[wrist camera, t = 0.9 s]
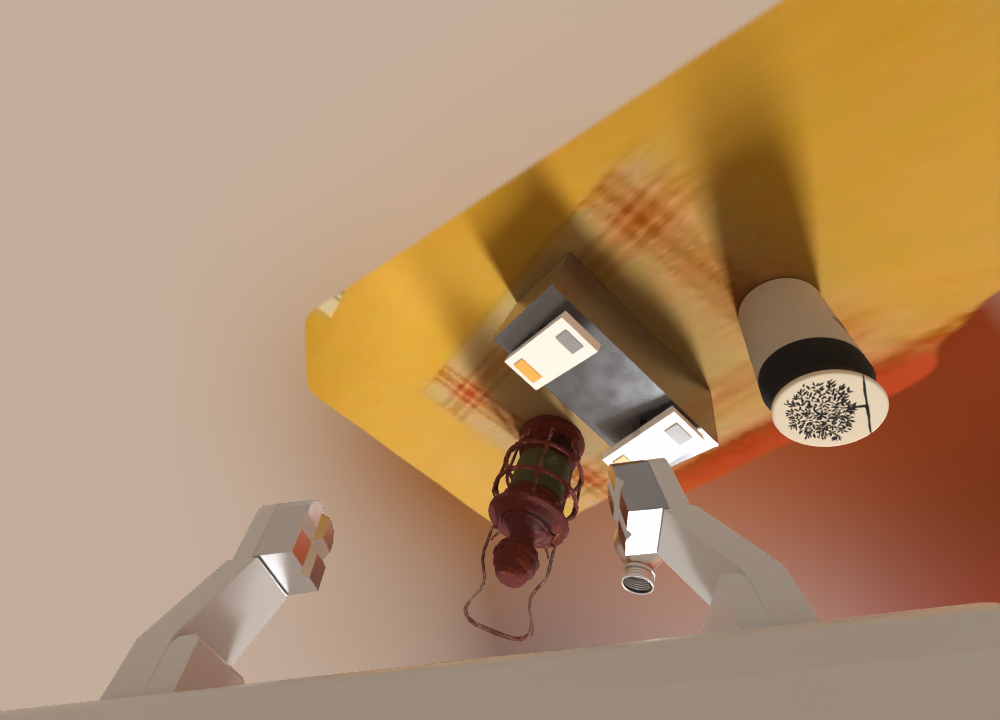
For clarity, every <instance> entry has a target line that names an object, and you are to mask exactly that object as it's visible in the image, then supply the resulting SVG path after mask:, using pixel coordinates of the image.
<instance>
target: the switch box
mask: <svg viewBox="0 0 1000 720" xmlns="http://www.w3.org/2000/svg"><path fill="white" fill-rule="evenodd" d="M564 311H566V312H567V313H569V314H570V315H571V316H572V317H573V318H574V319H575V320H576V321H577V322H578V323H579V324H580V325H581V326H582V327H583V328H584V329H585V330H586V331H587V332H588V333H589V334H590V335H591V336H593V337H594V338H595V339H596V340H597V341H598V342H599V343H600V344H601V346H600V348H599V350H598V352H597V353H595V354H594V355H592V356H590V357H589V358H587V359H586V360H584V361H582V362H581V363H579V364H578V365H576V366H574V367H573V368H571V369H570V370H568V371H566V372H565V373H563V374H562V375H560V376H558V377H557V378H555V379H554V380H552V381H550V382H549V383H547V384H546V385H544V386H545V387H546V388H547V389H548V390H549V391H551V392H552V393H553V394H554V395H555V396H556V397H557V398H558V399H559V400H560V401H562V402H563V403H564V404H565V405H566V406H567V407H568V408H569V409H570V410H571V411H573V412H574V413H575V414H576V415H577V416H578V417H579V418H580V419H581V420H582V421H584V422H585V423H586V424H587V425H588V426H589V427H590V428H591V429H592V430H593V431H595V432H596V433H597V434H598V435H599V436H600V437H601V438H602V439H603V440H604V441H606V442H607V443H608V444H609V445H610V446H611V447H612V446H614V445H615V444H617V443H618V442H620V441H621V440H622V439H624V438H625V437H627V436H628V435H630V434H631V433H633V432H634V431H636V430H637V429H639V428H640V427H642V426H643V425H644V424H646V423H647V422H649V421H650V420H652V419H653V418H655V417H656V416H658V415H659V414H661V413H662V412H664V411H665V410H666V409H668V408H669V407H671V406H673V407H674V408H675V409H676V410H677V411H679V412H680V413H681V414H682V415H683V416H684V417H685V418H686V419H687V420H688V421H689V422H690V423H691V424H692V425H693V426H694V427H695V428H696V429H697V430H698V431H699V432H700V433H701V434H702V435H703V437H704V439H705V442H704V443H702V444H700V445H699V446H697V447H695V448H694V449H692V450H690V451H689V452H687V453H686V454H684V455H682V456H681V457H679V458H677V459H676V460H674V461H672V462H671V463H669V465H670V467H671V466H673V465H676V464H678V463H680V462H682V461H684V460H687V459H689V458H691V457H693V456H696V455H698V454H700V453H702V452H704V451H707V450H709V449H711V448H713V447H715V446H718V438H717V431H716V424H715V418H714V411H713V404H712V398H711V392H710V391H709V390H708V389H707V388H706V387H705V386H704V385H703V384H702V383H701V382H700V381H699V380H698V379H697V378H696V377H695V376H694V375H693V374H692V373H691V372H690V371H689V370H688V369H687V368H686V367H685V366H684V365H683V364H682V363H681V362H680V361H679V360H678V359H677V358H676V357H675V356H674V355H673V354H672V353H671V352H670V351H669V350H668V349H667V348H666V347H665V346H664V345H663V344H662V343H661V342H660V341H659V340H658V339H657V338H656V337H655V336H654V335H653V334H652V333H651V332H650V331H649V330H648V329H647V328H646V327H645V326H644V325H643V324H642V323H641V322H640V321H639V320H638V319H637V318H636V317H635V316H634V315H633V314H632V313H631V312H630V311H629V310H628V309H626V308H625V307H624V306H623V305H622V304H621V303H620V302H619V301H618V300H617V299H616V298H615V297H614V296H613V295H612V294H611V293H610V292H609V291H608V290H607V289H606V288H605V287H604V286H603V285H602V284H601V283H600V282H599V281H598V280H597V279H596V278H595V277H594V276H593V275H592V274H591V273H590V272H589V271H588V270H587V269H586V268H585V267H584V266H583V265H582V264H581V263H580V262H579V261H578V260H577V259H576V258H575V257H574V256H573V255H572V254H571V253H570V252H568V253H567V254H566V255H565V256H564V257H563V258H562V259H561V260H560V261H559V262H558V263H557V264H556V265H555V266H554V267H553V268H552V269H551V270H550V271H549V272H548V273H547V274H546V275H545V276H544V277H543V278H542V279H541V280H539V281H538V282H537V283H536V284H535V285H534V286H533V287H532V288H531V289H530V290H529V291H528V292H527V293H526V294H525V295H524V296H523V297H522V298H521V299H520V300H519V301H518V302H517V303H516V304H515V306H514V308H513V309H512V311H511V312H510V314H509V315H508V317H507V318H506V320H505V321H504V323H503V325H502V326H501V328H500V329H499V331H498V332H497V334H496V335H495V337H494V339H493V340H494V341H495V342H497V343H498V344H499V345H500V346H501V347H502V348H503V349H504V350H505V351H506V352H508V353H509V354H511V353H512V352H513V351H515V350H516V349H517V348H518V347H520V346H521V345H522V344H524V343H525V342H526V341H527V340H529V339H530V338H531V337H532V336H534V335H535V334H536V333H538V332H539V331H540V330H541V329H543V328H544V327H545V326H547V325H548V324H549V323H550V322H552V321H553V320H554V319H555V318H557V317H558V316H559V315H561V314H562V313H563V312H564Z"/></svg>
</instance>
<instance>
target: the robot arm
mask: <svg viewBox="0 0 1000 720" xmlns="http://www.w3.org/2000/svg"><path fill="white" fill-rule="evenodd" d="M608 475H609V478H610V481H611V482H610V483H609V484H608V499H609V505H610V509H611V512H612V516H613V519H614V520H616V521H617V522H618V535H619V538H620V541H621V544H622V547H623V550H624V553H625V556H626V555H638V554H649V553H657V555H658V556H659V557H660V558H662V559H663V560H664V561H665V562H666V563H667V564H668V565H669V566H670V567H671V568H672V569H673V570H674V571H675V572H676V573H677V574H678V575H679V576H680V577H681V578H682V579H683V580H684V581H685V582H686V583H687V584H688V585H689V586H690V587H691V588H692V589H693V590H694V591H695V592H696V593H697V594H698V595H699V596H700V597H701V598H702V599H703V600H704V601H705V602H706V603H707V604H708V605H709V606H710V608H709V611H708V614H707V617H706V621H705V624H704V627H703V630H702V632H703V634H695V635H686V636H678V637H668V638H659V639H650V640H641V641H632V642H623V643H614V644H605V645H596V646H586V647H577V648H568V649H559V650H551V651H541V652H532V653H523V654H514V655H505V656H495V657H487V658H478V659H468V660H459V661H450V662H441V663H432V664H424V665H415V666H406V667H397V668H387V669H378V670H370V671H361V672H351V673H342V674H333V675H325V676H315V677H306V678H297V679H288V680H279V681H270V682H261V683H252V684H245V682H244V679H243V677H242V676H241V675H240V674H238V673H237V672H236V671H235V670H234V669H233V668H232V667H231V666H232V665H233V664H234V663H235V661H236V660H237V659H238V658H239V657H240V655H241V654H242V653H243V651H244V650H245V649H246V648H247V647H248V645H249V644H250V643H251V642H252V640H253V639H254V638H255V637H256V635H257V634H258V633H259V632H260V631H261V629H262V628H263V627H264V626H265V624H266V623H267V622H268V621H269V619H270V618H271V617H272V616H273V614H274V613H275V612H276V611H277V610H278V608H279V607H280V606H281V605H282V603H283V602H284V601H285V600H286V598H287V595H293V594H300V593H307V592H314V591H318V590H319V587H320V583H321V580H322V577H323V574H324V571H325V565H324V563H323V559H324V558H325V557H326V556H327V555H328V554H329V553H330V551H331V547H332V544H333V536H334V535H333V534H334V530H333V525H332V522H331V520H330V518H329V517H327V516H325V515H323V514H322V511H323V506H322V504H321V502H320V501H319V500H311V501H301V502H289V503H280V504H271V505H263V506H262V507H261V508H260V509H259V510H258V511H257V513H256V515H255V517H254V519H253V521H252V523H251V525H250V527H249V529H248V530H247V533H246V534H245V536H244V538H243V540H242V542H241V544H240V546H239V548H238V550H237V552H236V554H235V556H234V558H233V560H227V561H226V562H225V563H224V564H223V565H221V566H220V567H219V568H218V569H217V570H216V571H214V573H212V574H211V575H210V576H209V577H208V578H206V579H205V580H204V581H203V582H202V583H201V584H200V585H199V586H197V587H196V588H195V589H194V590H193V591H192V592H190V593H189V594H188V595H187V596H186V597H185V598H183V599H182V600H181V601H180V602H179V603H178V604H177V605H175V606H174V607H173V608H172V609H171V610H170V611H169V612H168V613H166V614H165V615H164V616H163V617H162V618H160V619H159V620H158V621H157V622H156V623H155V624H154V625H152V626H151V627H150V628H149V629H148V630H147V631H146V632H144V633H143V634H142V635H141V636H140V637H139V638H138V639H137V640H136V641H135V643H134V645H133V646H132V648H131V650H130V651H129V653H128V655H127V656H126V658H125V660H124V661H123V663H122V665H121V666H120V668H119V669H118V671H117V673H116V674H115V676H114V678H113V679H112V681H111V682H110V684H109V686H108V687H107V689H106V691H105V692H104V694H103V696H102V697H101V699H100V700H99V701H90V702H80V703H71V704H63V705H53V706H44V707H35V708H26V709H17V710H7V711H0V720H1000V603H973V604H964V605H955V606H947V607H938V608H930V609H920V610H911V611H902V612H893V613H883V614H875V615H865V616H856V617H847V618H838V619H830V620H821V621H819V619H818V617H817V616H816V614H815V613H814V611H813V610H812V608H811V607H810V605H809V603H808V602H807V600H806V599H805V597H804V596H803V594H802V593H801V591H800V589H799V588H798V586H797V585H796V583H795V582H794V580H793V579H792V577H791V576H790V574H789V572H788V571H787V569H786V568H785V566H784V565H782V564H781V563H779V562H778V561H776V560H775V559H773V558H772V557H771V556H769V555H768V554H766V553H764V552H763V551H762V550H760V549H759V548H757V547H756V546H755V545H753V544H752V543H750V542H749V541H747V540H746V539H744V538H743V537H741V536H740V535H738V534H737V533H736V532H734V531H733V530H731V529H730V528H729V527H727V526H726V525H724V524H723V523H721V522H720V521H718V520H717V519H715V518H714V517H713V516H711V515H710V514H708V513H707V512H705V511H704V510H702V509H701V508H700V507H698V506H691V505H690V503H689V501H688V499H687V497H686V495H685V494H684V492H683V490H682V488H681V486H680V484H679V482H678V480H677V478H676V476H675V474H674V472H673V471H672V469H671V467H670V465H669V463H668V461H667V460H666V459H665V458H664V457H663V458H655V459H647V460H637V461H630V462H622V463H615V464H609V467H608Z"/></svg>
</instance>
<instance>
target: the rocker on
mask: <svg viewBox="0 0 1000 720" xmlns="http://www.w3.org/2000/svg"><path fill="white" fill-rule="evenodd" d="M600 346H601V344H600V343H599V342H598V341H597V340H596V339H595V338H594V337H593V336H591V335H590V334H589V333H588V332H587V331H586V330H585V329H584V328H583V327H582V326H581V325H580V324H579V323H578V322H577V321H576V320H575V319H574V318H573V317H572V316H571V315H570V314H569V313H567V312H566V311H564V312H563V313H562V314H561V315H559V316H558V317H557V318H555V319H554V320H553V321H552V322H550V323H549V324H548V325H547V326H545V327H544V328H543V329H541V330H540V331H539V332H538V333H536V334H535V335H534V336H532V337H531V338H530V339H529V340H527V341H526V342H525V343H524V344H522V345H521V346H520V347H518V348H517V349H516V350H515V351H513V352H512V353H511V354H509V355H508V357H507V358H506V360H505V361H504V362H505V363H506V364H507V365H508V366H510V367H511V368H512V369H513V370H514V371H515V372H516V373H517V374H518V375H520V376H521V377H522V378H523V379H524V380H525V381H526V382H527V383H528V384H530V385H531V386H532V387H533V388H534V389H535V390H538V389H539V388H541V387H542V386H544V385H546V384H547V383H549V382H550V381H552V380H554V379H555V378H557V377H558V376H560V375H562V374H563V373H565V372H566V371H568V370H570V369H571V368H573V367H574V366H576V365H578V364H579V363H581V362H582V361H584V360H586V359H587V358H589V357H590V356H592V355H594V354H595V353H597V352H598V350H599V348H600Z"/></svg>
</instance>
